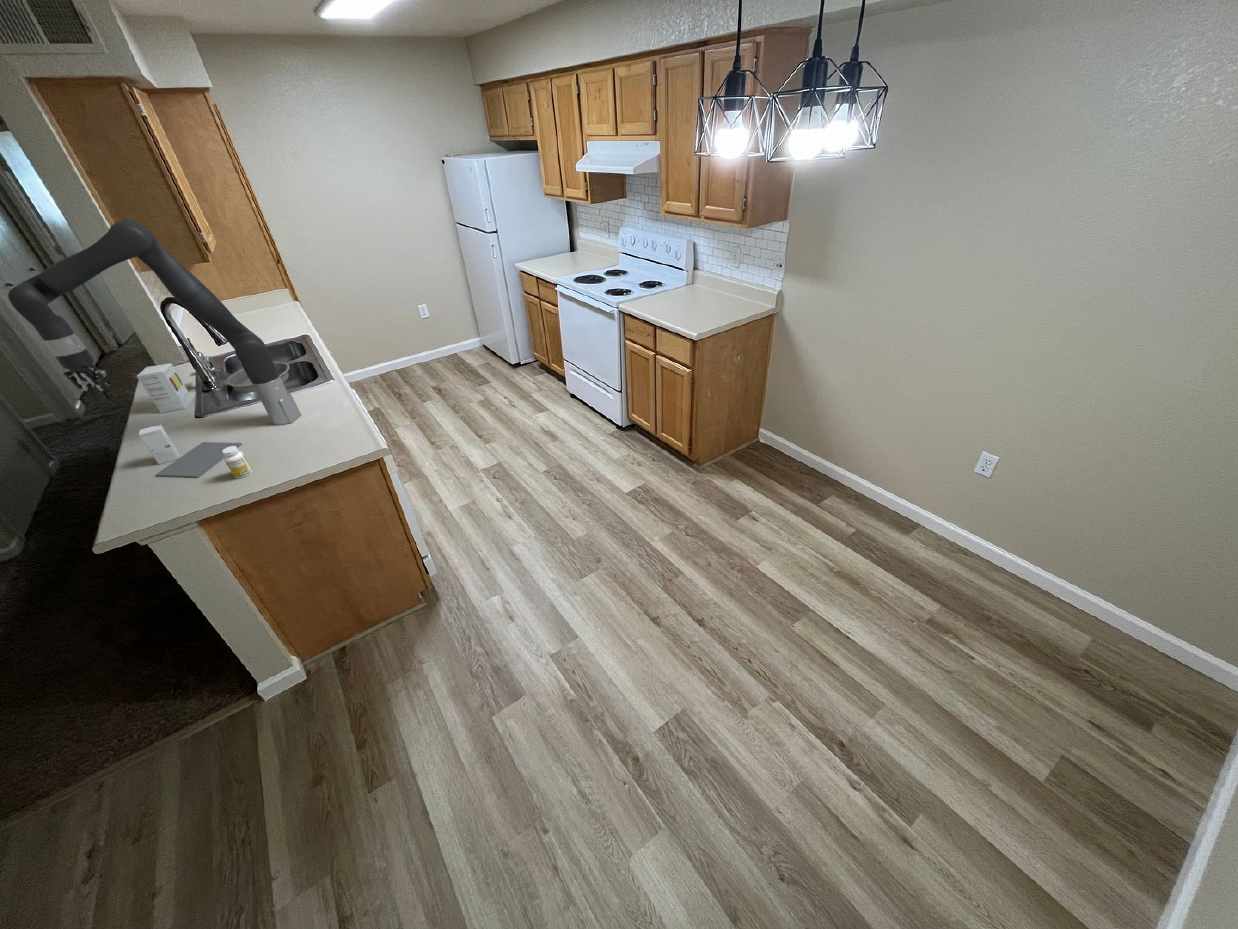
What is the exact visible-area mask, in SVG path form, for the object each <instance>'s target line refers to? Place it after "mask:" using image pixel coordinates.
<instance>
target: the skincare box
mask: <svg viewBox="0 0 1238 929" xmlns="http://www.w3.org/2000/svg"><path fill="white" fill-rule="evenodd" d="M138 436H139V438H140V440H142V442H143V443H144V445H145V447H146V448H147V450H148V451H149V452H150V454H151V456H152V457H153V459H154V460H155V461H156V463H157V464H158V465H161V464H164V463H169V462H174V461H176V460H177V459H179V458H180V452H179V451H178V449H177V447H176V446H175V444H174V443H173V442H172V440H171V438H170V436H169V435H168V433H167V432H166V430H165V428H164V427H163V425H162V424H157V425H154V426H149V427H146V428H142V429H140V430H139V432H138Z"/></svg>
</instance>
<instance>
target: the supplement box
mask: <svg viewBox="0 0 1238 929" xmlns="http://www.w3.org/2000/svg"><path fill="white" fill-rule="evenodd" d="M180 377H181V376H180V375H179V374H178V373H177V371H176V369H175V367H174V365H173V364H172V363H164V364H159V365H152V366H145V368H144V369H143V370H141V372H139V373H138V374H137V375H136V378H137V379H138V380H139V382H140V383H141V385H142V386H143V388H144V390H145V391H146V393H147V394H148V396H149V397H150V399H151V401H152V402H153V404H154V405H155V406H156V408H157V409H158V410H159V412H160V413H161V414H164V413H169V412H173V411H174V412H175V411H176V412H177V411H180V410H186V409H187V408H188V406H189V405H190V404H191V403H192V402H193V400H194V398H193V397H192V395H191V393H190V392H189V390H188V388H187V387H186V385H185V384H184V382H183V380H182V378H180Z"/></svg>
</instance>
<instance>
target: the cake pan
mask: <svg viewBox="0 0 1238 929" xmlns="http://www.w3.org/2000/svg"><path fill="white" fill-rule="evenodd" d="M273 363H274V365H275V367H276V369H277V371H278V373H279V375H280V377H281V379H282V381H283V383H284V382H286V381H287V380H288V379H289V376H290V375H289V374H290V373H289V370H290V365H289V364H288V363H287V362H281V361H273ZM226 384H227V385H228V386H231V387H232V388H233V389H234V390H235V391H236V392H238V393H243V394H252V393H257V392H256V390H255V388H254V386H253V384H252V383H251V381H250V379H249V377H248V376H247V374H246V372H245V370H244V369H243V368H242V369H239V370H237V371H236V372H234V373H232V374H231V375H229V376H228V377H227V379H226Z"/></svg>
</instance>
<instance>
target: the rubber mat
mask: <svg viewBox="0 0 1238 929" xmlns="http://www.w3.org/2000/svg"><path fill="white" fill-rule="evenodd" d="M242 445H243V443H242V442H221V441H219V442H217V441H216V442H213V441H212V442H210V441H202V442H200V443H198V444H197V445H196V446H195V447H194V448H192V449H189V451H187V452H186V453H184V454H183V455H182V456H179V458H178V459H176V460H174V461H172V462H171V463H170V464H168V465H167V466H166V467H165V468H163V469H161V470H160V471H159V472H157V473H156V474H155V477H163V478H164V477H165V478H168V477H169V478H191V479H192V478H193V479H196V478H197V479H198V478H200V477H201V476H203V475H204V474H205V473H206V472H208V471H210V470H211V469H213V467H214V466H216V465H217V464H218V463H220V462H221V461H223V460H224V457H225V456H224V454H223V452H222V451H223V450H224V449H225V448H227V447H230V446H236V447H237V449H239V447H241V446H242Z"/></svg>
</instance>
